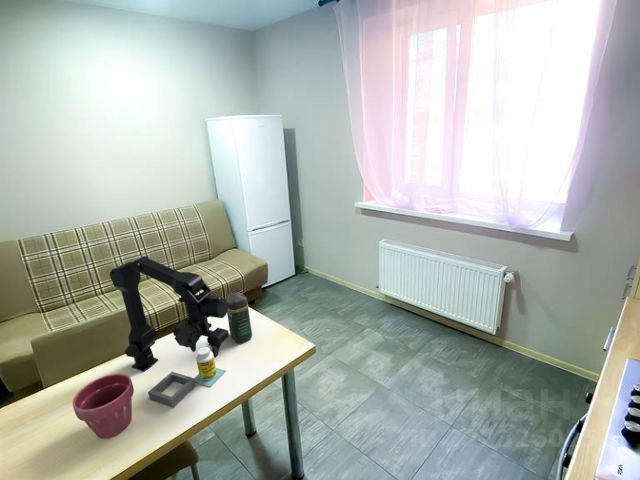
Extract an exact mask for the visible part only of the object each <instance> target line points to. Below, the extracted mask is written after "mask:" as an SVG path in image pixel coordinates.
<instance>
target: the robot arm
mask: <svg viewBox="0 0 640 480" xmlns="http://www.w3.org/2000/svg"><path fill="white" fill-rule="evenodd" d="M141 274H143V275H145V276H147V277H149V278H152V279H154V280H156V281H159V282H160V283H163V284H165V285H167V286H169V287H171V289H172V290H173V292H174V293H175V294H177V295H178V296H179V297H180V298H178V299H177V302H178V303H184V307H185V312H186V316H187V317H186V318H185V319H184V320H182V321H181V322H179V323H178V324H177V325H175V326H174V327H173V328H172V334H173V336H174V341H176V343H177V344H178V346H180V347H185V348H189V349H190V350H191V351H192V352H193V353H195V352H196V351H197V343H198V341H199V340H200V338H202V336H203V337H206V338H207V339H206V340H207V342H206V343H208V344H207V346H209V347H211V348H210V349H211V352H212V353H213V355H214V359H216V358H217V357H218V356H219V353H220V349H221V346H222V344H223V343H224V342H225V341H226V340H227V339H228V338H230V331H229V330H228V329H225V328H221V327H216V328H215V329H214V330H211V329H210V328H212V327H213V326H212V323H210V322H209V320H208V319H209V317H210V318H217V319H224V318H225V317H226V316H227V311H228V303H227V301H226V300H225V298H223V296H222V295H212V293H213V292H214V290H212V289H211V286H209V285H208V284H207V282H205V280H204V278H203V277H202V276H201V275H199V274H197V273H194V272H190V271H182V272H181V271H178V270H176V269H173V268H171V267H169V266H167V265H165V264H161V263H159V262H157V261H155V260H152V259H151V258H150V257H148V256H147V255H143V256H141V257H139V258H136V259H134V260H132V261H131V260H130V261H129V260H128V261H127V262H125V263H123V264H121V265H118V266H117V267H114V268H112V269H111V270H110V272H109V278H110V280H111V282H112V285H113V287H115V288H116V289H117V290H119V291H120V293H121V295H122V298H123V302H124V306H125V310H126V313H127V314H126V315H127V316H128V321H129V324H130V331H129V333H128V334H129V335H128V343H129V346H127V348H126V349H125V350H124V353H125V355H126V357H128V358H133V360H134V364H132V365H131V368H132V369H135V370H138V371H142V372H146V370H149V369H150V368H151V367H152V366H154V364H156V363H157V362H159V358H157V357H155V356H154V353H153V350H152V347H153V346H155V344H156V340H157V337H158V334H157V330H156V327H155V326H151V325H150V324H148V322H147V319H146V318H147V317H146V314H145V311H144V306H143V305H144V304H143V302H142V299H141V298H142V297H141V294H140V290H139V286H140V281H141V278H142V277H141ZM198 293H199V294H198Z"/></svg>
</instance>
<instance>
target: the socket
mask: <svg viewBox="0 0 640 480" xmlns="http://www.w3.org/2000/svg"><path fill="white" fill-rule="evenodd" d="M194 378H195V377H191V376H188V375H184V374H181V373H178V372H175V371H170V373H168V374H167V375H166V376H165V377H164V378H162V379H161V380H160V381H159V382H158V383H157V384H155V386H153V387H152V388H151V389H149V391H148V392H147V394H148V399H149V400H150V401H152V402H155V403H157V404H161V405H162V406H166V407H168V408H172V409H174V408H176V406H178V405H179V403H180V402H182V401H183V400H184V398H185V397H186V396H188V394H190V393H191V391H193V390H194V389H195V388H196V387H197V385H196V384H197V383H195V379H194ZM173 383H176V384H179V385H182V386H181V387H180V388H179V389H178V390H177V391H176V392H175V393H173V394H172V396H170V395H167V394H164V393H163V392H164V391H165V390H166V389H168V388H169V387H170V386H171V385H172V384H173Z"/></svg>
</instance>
